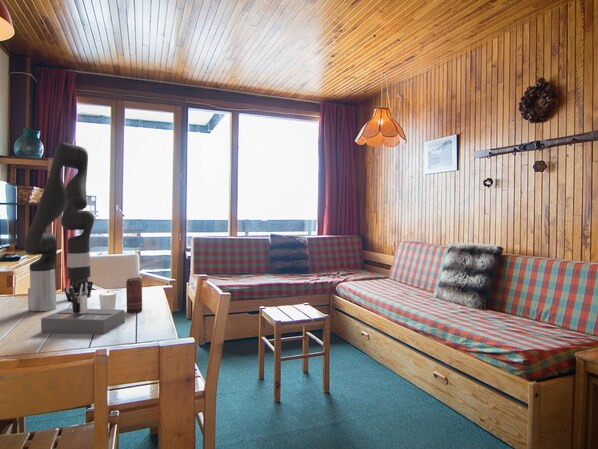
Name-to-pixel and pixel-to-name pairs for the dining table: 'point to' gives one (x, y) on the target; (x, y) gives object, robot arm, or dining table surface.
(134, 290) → the can
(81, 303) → the fader knob
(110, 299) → the white cylinder
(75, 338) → the dining table surface
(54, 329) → the slider control panel
